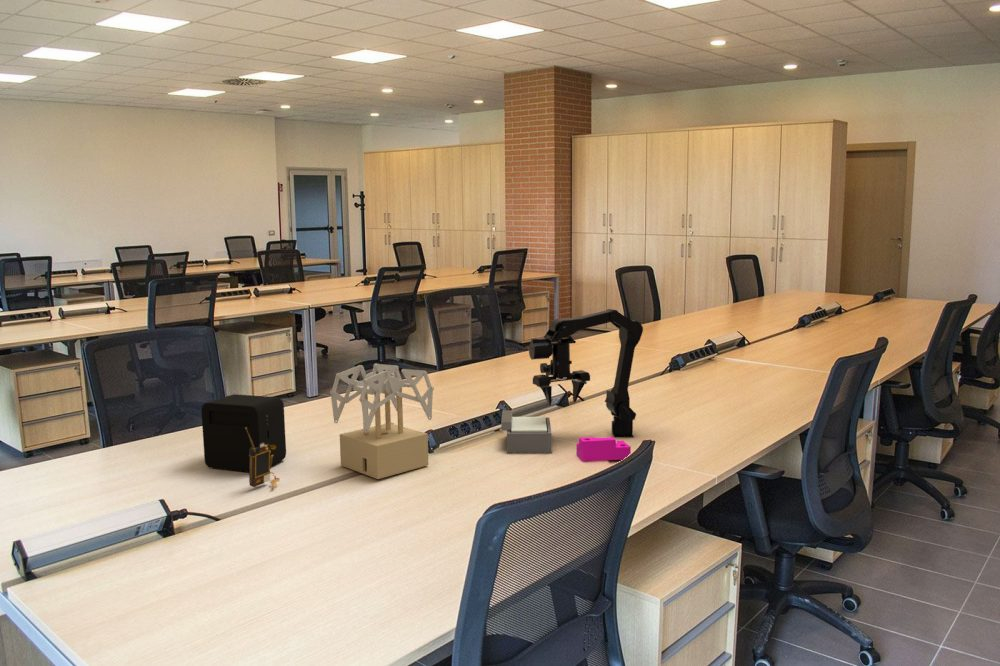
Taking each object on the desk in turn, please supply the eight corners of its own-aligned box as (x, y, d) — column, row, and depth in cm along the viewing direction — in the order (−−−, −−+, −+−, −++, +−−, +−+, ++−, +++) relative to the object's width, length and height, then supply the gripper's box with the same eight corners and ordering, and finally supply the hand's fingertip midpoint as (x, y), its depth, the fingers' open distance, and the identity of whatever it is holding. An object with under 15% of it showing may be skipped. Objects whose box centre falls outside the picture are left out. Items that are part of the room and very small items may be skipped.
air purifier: (290, 459, 239) (287, 396, 236) (261, 473, 225) (257, 406, 223) (235, 454, 245) (232, 392, 243) (204, 467, 232) (200, 402, 229)
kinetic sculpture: (368, 481, 216) (365, 376, 213) (330, 466, 231) (325, 368, 227) (436, 462, 233) (434, 365, 230) (396, 450, 248) (393, 357, 244)
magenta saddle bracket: (582, 441, 232) (576, 435, 239) (582, 461, 232) (576, 454, 240) (630, 438, 234) (623, 432, 241) (630, 458, 235) (622, 452, 242)
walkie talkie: (256, 494, 207) (252, 429, 205) (225, 486, 214) (222, 423, 212) (294, 481, 218) (291, 419, 216) (264, 473, 225) (261, 413, 223)
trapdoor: (545, 418, 260) (545, 409, 260) (547, 432, 242) (546, 422, 242) (502, 418, 261) (502, 409, 261) (501, 432, 243) (501, 422, 243)
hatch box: (549, 435, 263) (549, 417, 262) (551, 453, 242) (551, 433, 241) (508, 435, 263) (508, 417, 262) (507, 453, 242) (506, 433, 241)
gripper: (574, 351, 264) (575, 396, 266) (525, 356, 257) (526, 402, 259) (590, 356, 253) (591, 402, 255) (539, 361, 246) (540, 409, 248)
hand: (562, 403), depth 255 cm, fingers open, 9 cm apart
